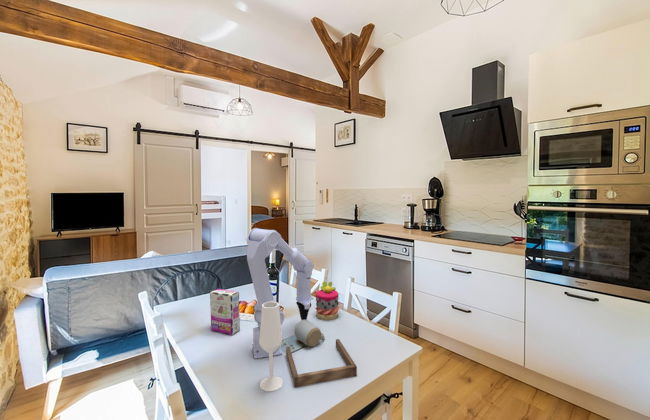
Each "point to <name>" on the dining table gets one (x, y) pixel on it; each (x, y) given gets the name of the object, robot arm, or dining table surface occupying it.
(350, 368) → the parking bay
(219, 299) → the candy bar box
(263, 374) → the dining table surface
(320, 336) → the ceramic mug
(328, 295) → the cake
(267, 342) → the champagne flute
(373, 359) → the dining table surface
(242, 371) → the dining table surface
